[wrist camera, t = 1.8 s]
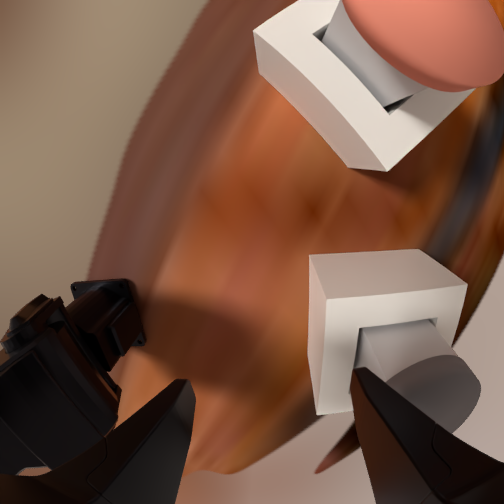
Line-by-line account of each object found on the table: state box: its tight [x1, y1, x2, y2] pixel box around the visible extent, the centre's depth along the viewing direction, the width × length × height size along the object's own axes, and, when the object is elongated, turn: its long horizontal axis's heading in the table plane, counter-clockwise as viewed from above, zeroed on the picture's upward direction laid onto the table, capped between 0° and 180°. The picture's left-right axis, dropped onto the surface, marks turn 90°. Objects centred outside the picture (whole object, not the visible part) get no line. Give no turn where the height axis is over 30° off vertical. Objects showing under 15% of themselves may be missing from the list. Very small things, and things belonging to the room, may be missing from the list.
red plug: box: [322, 0, 504, 107], centre depth 8 cm, size 6×6×8 cm
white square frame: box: [253, 0, 476, 172], centre depth 13 cm, size 9×9×7 cm
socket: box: [307, 249, 468, 415], centre depth 18 cm, size 9×9×7 cm
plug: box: [353, 319, 481, 434], centre depth 13 cm, size 6×6×8 cm
